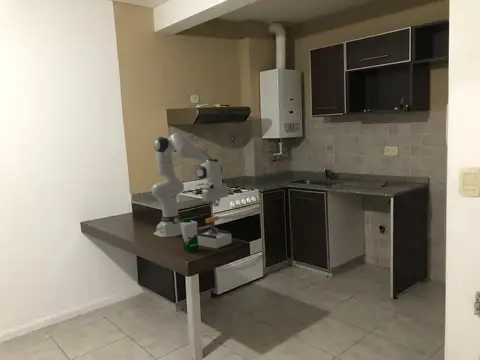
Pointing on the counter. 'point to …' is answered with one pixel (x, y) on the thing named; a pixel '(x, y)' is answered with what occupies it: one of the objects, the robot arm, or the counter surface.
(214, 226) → the lever
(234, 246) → the counter surface
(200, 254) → the counter surface
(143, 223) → the counter surface
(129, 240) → the counter surface
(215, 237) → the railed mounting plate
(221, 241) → the box
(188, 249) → the milk carton
